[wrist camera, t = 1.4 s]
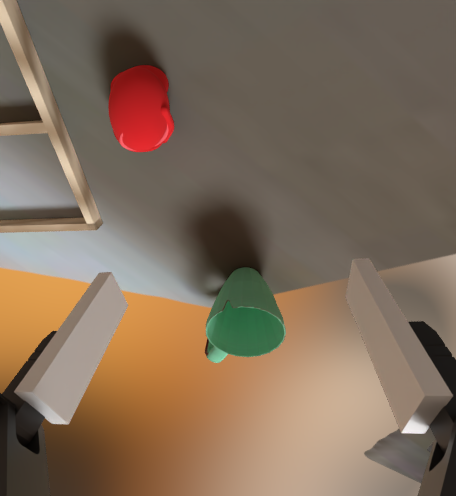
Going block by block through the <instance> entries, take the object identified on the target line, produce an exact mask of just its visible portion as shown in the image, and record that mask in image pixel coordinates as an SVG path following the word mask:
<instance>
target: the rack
mask: <svg viewBox="0 0 456 496" xmlns="http://www.w3.org/2000/svg"><path fill="white" fill-rule="evenodd" d="M0 23H1V25H2V27H3V30H4V32H5V34H6V37H7V39H8V41H9V44H10V46H11V48H12V51H13V53H14V55H15V58H16V60H17V62H18V65H19V67H20V69H21V72H22V74H23V76H24V79H25V81H26V83H27V86H28V88H29V90H30V93H31V95H32V97H33V100H34V102H35V104H36V107H37V109H38V111H39V114H40V116H41V118H42V120H41V121H25V122H10V123H0V136H4V135H21V134H37V133H48V135H49V137H50V139H51V142H52V144H53V146H54V149H55V151H56V153H57V156H58V158H59V160H60V163H61V165H62V167H63V170H64V172H65V174H66V177H67V179H68V181H69V184H70V186H71V188H72V191H73V193H74V195H75V198H76V200H77V202H78V205H79V207H80V209H81V212H82V214H83V216H84V217H82V218H49V219H16V220H0V233H4V232H43V231H82V230H97V229H98V228H99V227H100V226H101V225H102V224H103V222H102V220H101V217H100V215H99V212H98V209H97V207H96V204H95V202H94V199H93V196H92V194H91V191H90V189H89V186H88V184H87V181H86V178H85V176H84V173H83V171H82V168H81V165H80V163H79V160H78V158H77V155H76V153H75V150H74V147H73V145H72V142H71V140H70V137H69V135H68V132H67V129H66V127H65V124H64V122H63V119H62V116H61V114H60V111H59V109H58V106H57V104H56V101H55V98H54V96H53V93H52V91H51V88H50V86H49V83H48V80H47V78H46V75H45V73H44V70H43V67H42V65H41V62H40V60H39V57H38V55H37V52H36V49H35V47H34V44H33V42H32V39H31V37H30V34H29V31H28V29H27V26H26V24H25V21H24V18H23V16H22V13H21V11H20V8H19V6H18V3H17V0H0Z"/></svg>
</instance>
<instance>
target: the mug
mask: <svg viewBox="0 0 456 496" xmlns="http://www.w3.org/2000/svg"><path fill="white" fill-rule="evenodd" d="M285 334H286V330H285V326H284V321H283V317H282V315H281V313H280V311H279V308H278V306H277V304H276V301H275V299H274V296H273V294H272V292H271V290H270V289H269V287H268V285H267V283H266V282H265V281H264V279H263V278H262V277H261V275H260V274H259V273H258V271H256V270H255V269H252V268H249V267H243V268H238V269H236V270H235V271H234V272H232V274H231V275H230V276H229V278H228V279H227V280H226V282H225V283H224V285H223V287H222V288H221V290H220V292H219V294H218V296H217V298H216V300H215V302H214V305H213V307H212V309H211V312H210V315H209V317H208V319H207V323H206V336H207V338H208V339H207V344H206V348H205V353H206V356H207V358H208V359H209V360H210V361H212V362H215V363H219V362H221V361H222V360H223V359H224V358H225V357H226V356H227V354H231V355H235V356H242V357H253V356H260V355H263V354H267V353H270V352H271V351H273V350H274V349H276V348H278V347H279V346H280V344H281V343H282V342H283V341H284V338H285Z"/></svg>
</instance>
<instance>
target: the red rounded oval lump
mask: <svg viewBox="0 0 456 496" xmlns="http://www.w3.org/2000/svg"><path fill="white" fill-rule="evenodd" d="M168 87H169V83H168V79H167V77H166V75H165V74H164V73H163V72H162V71H161V70H160V69H158V68H156V67H154V66H150V65H139V66H135V67H132V68H130V69H127V70H126V71H124V72H121V73H119V74H118V75H117V76H116V77H114V79H113V80H112V83H111V92H110V97H109V117H110V121H111V125H112V128H113V132H114V135H115V137H116V138H117V140H118V141H119V143H120V144H121V145H122V146H123V147H124V148H126V149H128V150H130V151H134V152H147V151H152V150H155V149H157V148H158V147H160V146H161V145H162V143H166V142H167V141H168V139H169V137H170V136H171V134H172V132H173V130H174V121H173V118H172V116H171V114H170V108H169V100H168V96H167V91H168Z"/></svg>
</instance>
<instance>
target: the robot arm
mask: <svg viewBox="0 0 456 496" xmlns="http://www.w3.org/2000/svg"><path fill="white" fill-rule="evenodd" d="M346 300H347V302H348V305H349V307H350V309H351V312H352V314H353V317H354V319H355V322H356V324H357V326H358V329H359V331H360V334H361V336H362V338H363V341H364V343H365V346H366V348H367V351H368V353H369V356H370V358H371V361H372V363H373V365H374V368H375V370H376V373H377V375H378V378H379V380H380V382H381V385H382V387H383V390H384V392H385V395H386V397H387V400H388V402H389V404H390V407H391V409H392V412H393V414H394V417H395V419H396V421H397V424H398V426H399V429H400V431H401V433H421V434H424V433H425V432H426V431H427V430H428V428H429V427H430V428H431V430H432V432H433V434H434V436H435V438H436V439H435V440H434V441H433V442H432V443H431V445H430V446H429V447H428V449H427V450H428V451H429V452H431V453H430V456H429V459H428V463H427V466H426V469H425V473H424V476H423V479H422V483H421V486H420V490H419V493H418V496H456V360H455V358H454V357H452V354H451V352H450V351H449V350H448V348H447V347H445V344H444V342H443V341H442V339H441V338H440V337H439V335H438V334H437V332H436V331H435V330H433V329H432V328H431V327H430V326H428V325H427V324H426V323H425V322H423V321H421V322H408V321H407V320H406V318H405V316H404V315H403V313H402V311H401V310H400V308H399V307H398V305H397V303H396V302H395V300H394V298H393V297H392V295H391V294H390V292H389V290H388V289H387V287H386V285H385V284H384V282H383V281H382V279H381V277H380V276H379V274H378V272H377V271H376V269H375V267H374V266H373V264H372V263H371V261H370V259H369V258H362V259H353V261H352V266H351V271H350V276H349V282H348V287H347V292H346ZM127 307H128V304H127V302H126V300H125V298H124V296H123V294H122V292H121V290H120V288H119V286H118V284H117V282H116V280H115V278H114V276H113V274H112V272H106V273H99V274H98V275H97V277H96V278H95V279H94V281H93V282H92V284H91V285H90V286H89V288H88V289H87V291H86V292H85V293H84V295H83V296H82V297H81V299H80V301H79V302H78V303H77V304H76V306H75V307H74V309H73V310H72V311H71V313H70V314H69V316H68V317H67V318H66V320H65V321H64V323H63V324H62V325H61V327H60V328H59V330H58V331H52V332H51V333H50V334H49V335H48V336H47V337H46V338H44V339H43V340H42V342H41V343H40V344H39V345H38V347H37V348H36V349H35V352H34V353H33V354H32V355H31V356H30V357H29V359H28V361H26V363H25V364H24V365H23V367H22V368H21V369H20V371H19V372H18V373H17V375H16V376H15V377H14V379H13V380H12V381H11V383H10V384H9V386H8V387H7V388H6V389H5V391H4V392H3V393H2V394H1V393H0V496H50V488H49V478H48V467H47V458H46V447H45V437H44V429H43V427H42V425H41V424H42V422H43V420H44V418H46V419H47V420H49V421H50V422H51V423H52V424H69V422H70V420H71V418H72V416H73V414H74V412H75V410H76V408H77V406H78V404H79V402H80V400H81V398H82V396H83V394H84V392H85V390H86V388H87V386H88V384H89V382H90V380H91V378H92V376H93V374H94V372H95V370H96V368H97V366H98V364H99V362H100V360H101V358H102V356H103V354H104V352H105V351H106V349H107V347H108V344H109V343H110V340H111V338H112V336H113V335H114V333H115V330H116V329H117V327H118V325H119V322H120V321H121V319H122V317H123V315H124V313H125V311H126V309H127Z"/></svg>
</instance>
